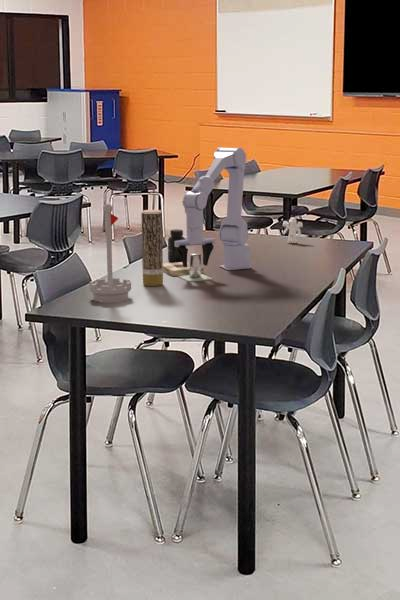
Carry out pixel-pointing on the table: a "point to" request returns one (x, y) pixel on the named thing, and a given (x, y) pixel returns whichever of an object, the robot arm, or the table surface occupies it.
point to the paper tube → (152, 247)
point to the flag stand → (110, 271)
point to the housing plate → (177, 269)
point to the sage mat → (202, 278)
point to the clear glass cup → (194, 265)
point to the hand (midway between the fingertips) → (195, 265)
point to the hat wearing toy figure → (292, 228)
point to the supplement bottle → (172, 250)
